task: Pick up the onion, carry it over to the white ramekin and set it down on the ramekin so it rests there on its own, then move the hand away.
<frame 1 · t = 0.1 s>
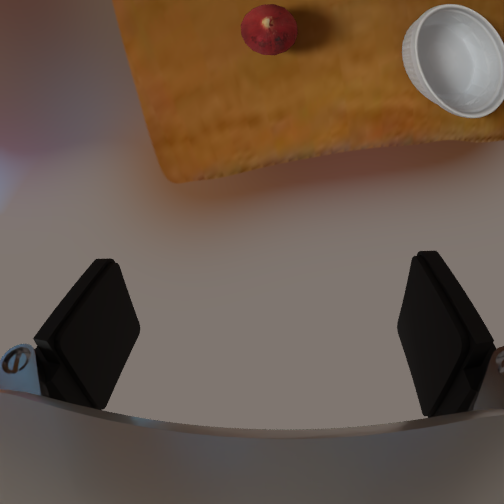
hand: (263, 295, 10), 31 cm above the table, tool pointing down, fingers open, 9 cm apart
ramekin: (440, 60, 30), on the table
onion: (270, 34, 31), on the table
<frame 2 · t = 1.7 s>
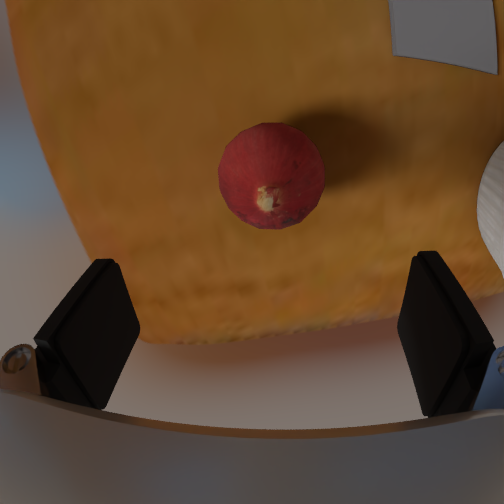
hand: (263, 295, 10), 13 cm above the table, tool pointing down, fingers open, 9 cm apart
coaster: (443, 9, 14), on the table
onion: (273, 157, 21), on the table
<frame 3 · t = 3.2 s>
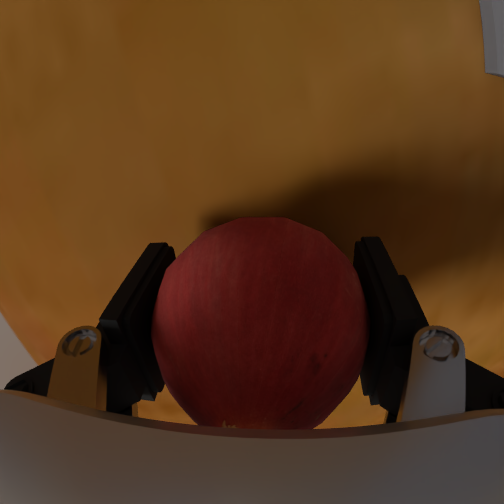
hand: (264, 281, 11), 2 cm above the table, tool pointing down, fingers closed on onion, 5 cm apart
onion: (268, 253, 12), on the table, touching gripper
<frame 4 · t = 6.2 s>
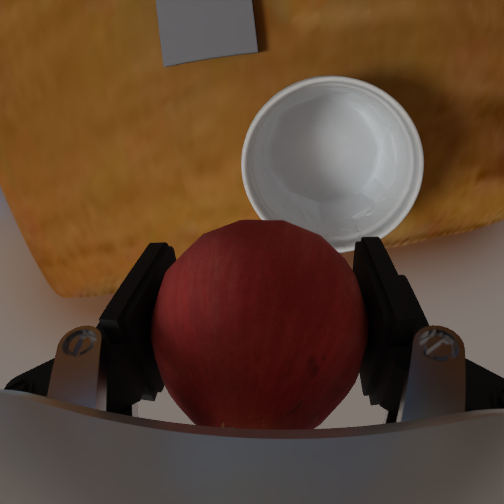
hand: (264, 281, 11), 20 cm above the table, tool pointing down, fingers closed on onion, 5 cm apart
ramekin: (325, 148, 27), on the table
coaster: (206, 17, 22), on the table
onion: (267, 255, 12), point 18 cm above the table, touching gripper
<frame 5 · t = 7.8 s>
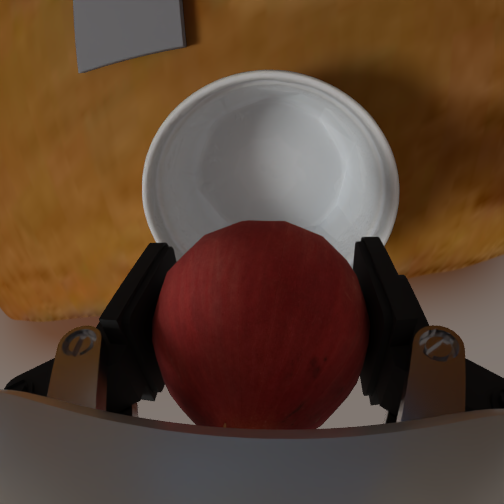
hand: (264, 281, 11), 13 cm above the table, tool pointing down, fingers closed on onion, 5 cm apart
ramekin: (273, 167, 22), on the table
coaster: (127, 8, 16), on the table
onion: (268, 255, 12), point 11 cm above the table, touching gripper
when the fingers open (10 cm above the table, at t = 9.2 s): onion drops 1 cm, resting on ramekin.
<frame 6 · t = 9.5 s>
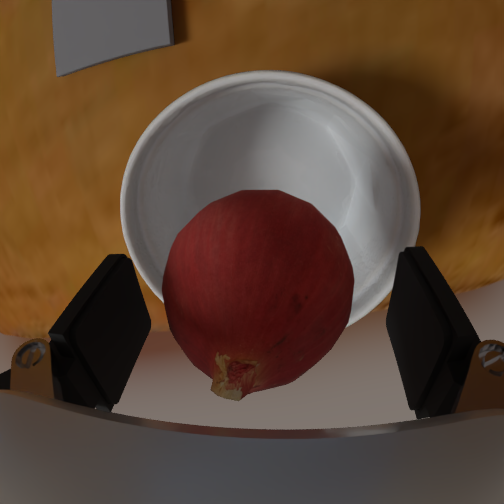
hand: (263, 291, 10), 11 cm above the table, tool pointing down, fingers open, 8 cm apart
ramekin: (273, 181, 20), on the table, touching onion
coaster: (109, 3, 14), on the table
onion: (270, 231, 13), point 7 cm above the table, touching ramekin
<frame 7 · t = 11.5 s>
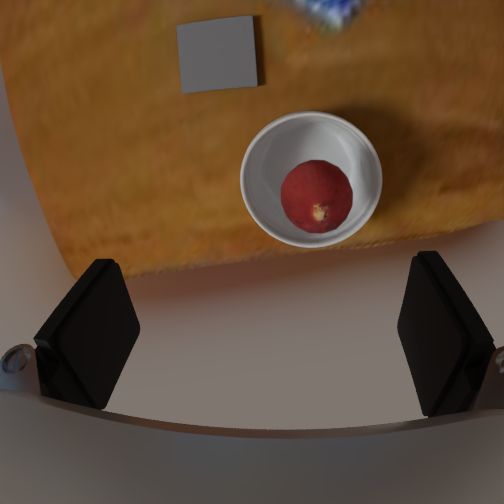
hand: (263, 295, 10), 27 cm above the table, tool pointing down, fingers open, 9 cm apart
ramekin: (308, 165, 35), on the table, touching onion
coaster: (217, 54, 29), on the table
onion: (313, 182, 29), point 7 cm above the table, touching ramekin
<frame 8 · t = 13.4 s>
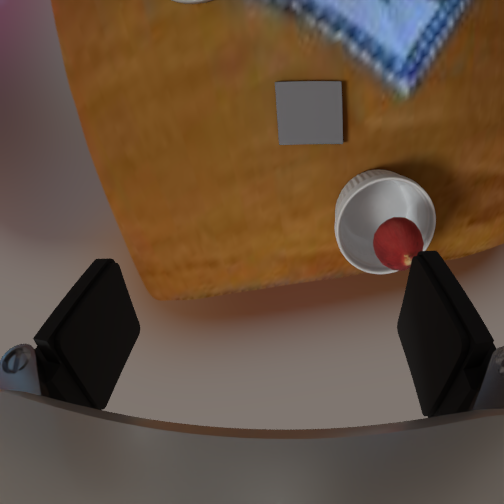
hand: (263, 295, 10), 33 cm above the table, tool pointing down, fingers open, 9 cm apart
ramekin: (374, 206, 43), on the table, touching onion
coaster: (309, 112, 37), on the table
onion: (389, 228, 37), point 7 cm above the table, touching ramekin
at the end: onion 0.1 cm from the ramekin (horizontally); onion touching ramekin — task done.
